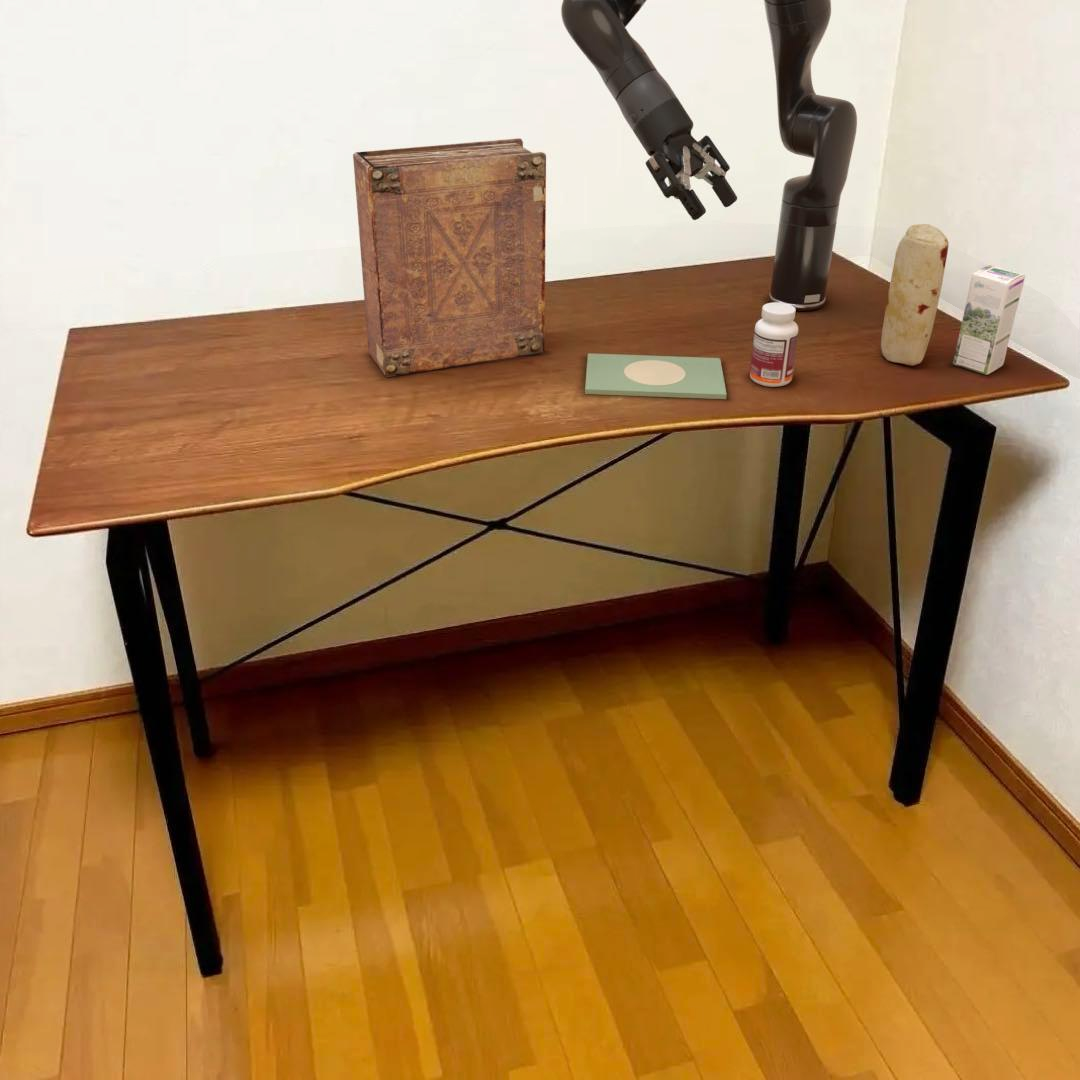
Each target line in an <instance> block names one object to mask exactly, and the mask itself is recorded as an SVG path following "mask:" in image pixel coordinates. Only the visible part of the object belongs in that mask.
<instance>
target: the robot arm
mask: <svg viewBox="0 0 1080 1080" xmlns="http://www.w3.org/2000/svg"><path fill="white" fill-rule="evenodd" d="M647 1H648V0H562V3H561V9H560V13H561V15H560V16H561V21H562V23H563V26H564V28H565V30H566V32H567V33H568V34H569V36H570V38H571V39H572V40H573V42H574V43H575V44H576V46H577V47H578V48H579V50H580V51H581V53H582V54H583V55H584V56H585V57H586V59H587V60H588V61H589V62H590V63H591V65H592V66H593V67H594V68H595V69H596V71H597V73H598V75H599V77H600V78H601V80H602V81H603V82H602V83H604V85H605V86H606V88H607V90H608V91H609V93H610V94H611V96H612V98H613V99H614V100H615V102H616V104H617V106H618V108H619V109H620V112H621V114H622V116H623V118H624V119H625V121H626V123H627V124H628V126H629V127H630V129H631V130H632V132H633V133H634V135H635V136H636V138H637V140H638V141H639V143H640V144H641V147H642V148H643V149H644V151H645V152H646V154H647V155H648V156H649V158H648V159H647V160H646V161H645V165H646V168H647V170H648V171H649V173H650V174H651V176H652V178H653V179H654V181H655V183H656V184H657V186H658V188H659V190H660V191H661V193H662V194H663V196H664V197H665V198H666V199H670V198H671V197H673V198H674V199H675V200H679V201H680V203H681V205H682V206H683V208H684V210H685V211H686V212H687V214H688V215H689V217H690V218H691V219H692V220H693V221H696V220H699V219H700V218H702V216H704V215H705V214H706V212H707V210H706V208H705V205H703V203H702V201H701V200H700V198H699V196H698V195H697V193H696V192H695V190H694V189H693V188H692V187H691V180H690V178H693V177H694V178H695V179H697V180H704V181H705V182H706V183H707V184H709V185H711V188H712V190H713V192H714V193H715V195H716V196H717V198H718V200H719V201H720V202H721V204H722V206H723V207H724V208H729V207H731V206H732V205H733V204H734V203H736V202H737V200H738V196H737V194H736V192H735V191H734V189H733V188H732V186H731V185H730V183H729V182H728V180H727V178H726V175H727V172H728V171H730V168H731V167H730V165H729V163H728V162H727V160H726V159H725V158H724V156H723V154H722V153H721V152H720V151H719V149H718V147H717V146H716V144H715V143H714V142H713V140H712V138H711V137H710V136H709V135H705V136H704V135H703V137H701V139H700V140H697V139H695V138H694V137H693V135H692V130H693V129H694V121H693V120H692V118H691V117H690V115H689V114H688V112H687V111H686V109H685V108H684V105H683V104H682V103H681V101H680V100H679V98H678V97H677V95H676V94H675V92H674V91H673V89H672V88H671V86H670V84H669V83H668V82H667V80H666V79H665V78H664V77H663V76H662V74H661V73H660V72H659V70H658V69H657V68H656V66H655V65H654V63H653V61H652V60H651V59H650V57H649V56H648V54H647V52H646V50H645V49H644V48H643V47H642V46H641V44H640V43H639V42H638V41H637V40H635V39H634V37H633V36H632V35H631V34H630V32H629V31H628V29H627V28H626V27H627V26H628V25H629V24H630V23H631V21H632V20H633V19H634V17H636V15H637V14H638V13H639V11H640V10H641V9H642V7H643V6H644V5H645V3H646V2H647ZM831 1H832V0H763V4H764V10H765V17H766V22H767V26H768V31H769V38H770V44H771V51H772V57H773V58H772V59H773V67H774V73H775V86H776V88H775V89H776V103H777V104H776V105H777V121H778V130H779V137H780V140H781V142H782V145H783V147H784V148H785V149H786V150H787V151H788V152H790V153H792V154H795V155H798V156H803V157H806V158H811V159H813V163H812V167H811V169H810V170H811V171H810V173H809V174H804V175H800V176H795V177H791V178H789V179H788V180H786V181H785V183H784V185H783V189H782V196H781V205H780V213H779V221H778V229H777V237H776V246H775V251H774V261H773V269H772V276H771V283H770V291H769V293H768V294H769V295H768V301H769V303H773V302H779V303H786V304H789V305H792V306H793V307H795V309H796V311H800V312H803V311H805V312H806V311H814V310H815V311H816V310H819V309H821V308H822V307H824V306H825V304H826V298H827V297H826V293H827V288H828V282H829V274H830V268H831V261H832V256H833V248H834V241H835V235H836V229H837V222H838V215H839V209H840V202H841V196H842V193H843V190H844V187H845V185H846V183H847V180H848V179H847V178H848V175H849V170H850V164H851V160H852V154H853V150H854V147H855V146H854V145H855V140H856V135H857V128H858V114H857V110H856V108H855V105H854V104H853V103H852V102H850V101H849V100H845V99H843V98H842V99H841V98H837V97H831V96H827V95H822V94H821V95H820V94H817V93H816V91H815V90H814V84H813V78H812V61H813V59H814V56H815V54H816V51H817V50H818V47H819V46H820V44H821V42H822V40H823V38H824V36H825V33H826V31H827V29H828V26H829V24H830V20H831V15H832V2H831ZM715 162H717V163H718V164H716V163H715ZM666 179H667V181H668V184H667V183H666Z"/></svg>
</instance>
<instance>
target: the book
mask: <svg viewBox="0 0 1080 1080" xmlns="http://www.w3.org/2000/svg"><path fill="white" fill-rule="evenodd" d="M352 159H353V173H354V184H355V198H356V199H355V200H356V211H357V222H358V236H359V249H360V261H361V274H362V285H363V287H362V288H363V297H364V298H363V299H364V300H363V301H364V312H365V323H366V324H365V325H366V336H367V348H368V349H367V350H368V354H369V355H370V357H371V358H372V359H373V361H374V363H375V364H376V365H377V366H378V368H379V369H380V371H381V372H382V373H383V375H384V377H386V378H389V377H396V376H402V375H409V374H417V373H424V372H429V371H431V372H432V371H436V370H438V371H439V370H445V369H449V368H450V369H451V368H457V367H465V366H471V365H477V364H484V363H485V364H486V363H491V362H499V361H505V360H512V359H519V358H525V357H532V356H540V355H544V353H546V347H545V345H546V333H545V332H546V230H547V229H546V222H547V221H546V219H547V218H546V217H547V216H546V215H547V214H546V213H547V211H546V210H547V155H546V152H543V151H537V152H532V151H530V150H529V149H527V148H525V147H524V141H523V139H522V138H520V137H519V138H508V139H507V138H506V139H495V140H483V141H472V142H461V143H449V144H436V145H425V146H413V147H412V146H411V147H400V148H390V149H379V150H367V151H357V152H353V154H352Z"/></svg>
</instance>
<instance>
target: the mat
mask: <svg viewBox="0 0 1080 1080" xmlns="http://www.w3.org/2000/svg"><path fill="white" fill-rule="evenodd" d="M584 394H585V395H599V396H600V395H603V396H624V397H625V396H629V397H650V398H651V397H652V398H653V397H654V398H678V399H679V398H680V399H681V398H682V399H706V400H707V399H708V400H727V397H728V396H727V389H726V384H725V377H724V372H723V367H722V360H721V357H703V356H702V357H700V356H699V357H698V356H676V355H675V356H673V355H672V356H670V355H645V354H644V355H642V354H618V353H617V354H615V353H614V354H613V353H587V359H586V374H585V386H584Z"/></svg>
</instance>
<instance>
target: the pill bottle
mask: <svg viewBox="0 0 1080 1080" xmlns="http://www.w3.org/2000/svg"><path fill="white" fill-rule="evenodd" d="M796 311H797V310H796V309H795V307H793V306H792V305H789V304H786V303H779V302H773V303H771V302H769V303H765V304H764V305H762V308H761V318H760V319H759V320H758V321H757V322H756V323H755V326H754V331H753V341H752V351H751V359H750V369H749V378H750V379H751V381H752V382H754V383H756V384H757V385H760V386H764V387H769V388H778V387H783V386H786V385H788V384H790V383H791V382H792V380H793V377H794V376H793V375H794V368H795V359H796V351H797V344H798V343H797V342H798V338H799V325H798V324H797V323H796V321H794V320H795V318H796Z"/></svg>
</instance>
